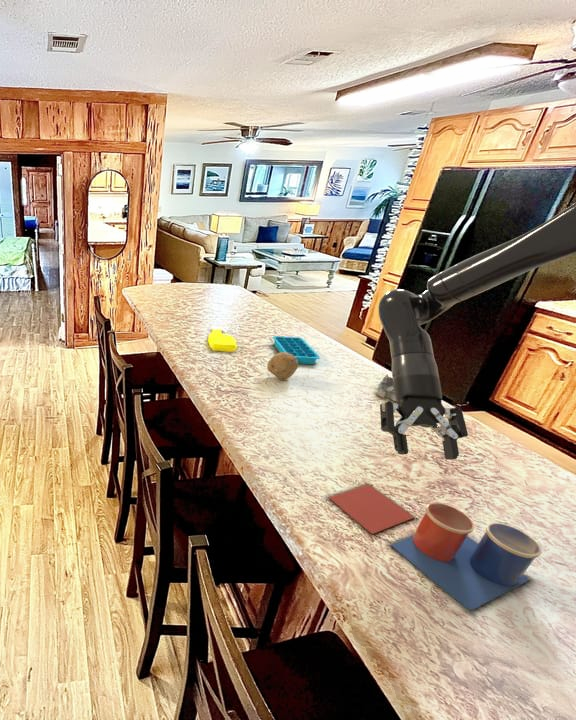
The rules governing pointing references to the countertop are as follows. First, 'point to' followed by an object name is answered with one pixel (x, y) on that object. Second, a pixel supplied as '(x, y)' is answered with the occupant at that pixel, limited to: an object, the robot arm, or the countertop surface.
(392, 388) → the egg carton
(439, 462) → the countertop surface
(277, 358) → the natural sponge
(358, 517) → the rust mat
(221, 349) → the yellow lump
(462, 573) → the blue mat
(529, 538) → the blue crock
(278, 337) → the ice cube tray
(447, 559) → the red tapered cylinder
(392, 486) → the countertop surface
